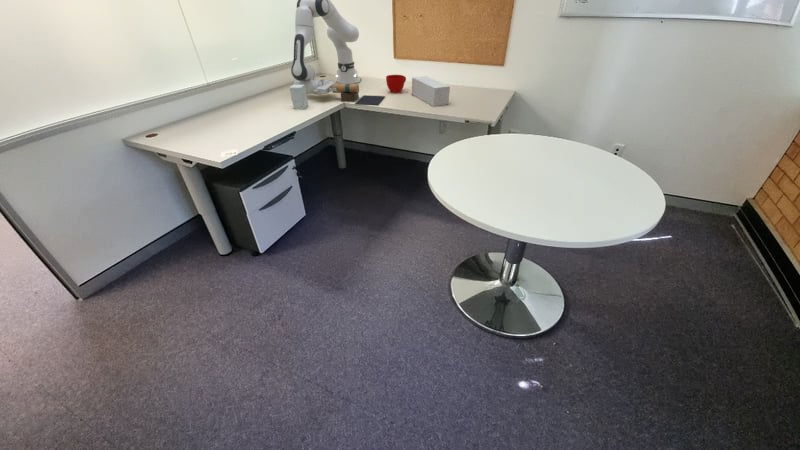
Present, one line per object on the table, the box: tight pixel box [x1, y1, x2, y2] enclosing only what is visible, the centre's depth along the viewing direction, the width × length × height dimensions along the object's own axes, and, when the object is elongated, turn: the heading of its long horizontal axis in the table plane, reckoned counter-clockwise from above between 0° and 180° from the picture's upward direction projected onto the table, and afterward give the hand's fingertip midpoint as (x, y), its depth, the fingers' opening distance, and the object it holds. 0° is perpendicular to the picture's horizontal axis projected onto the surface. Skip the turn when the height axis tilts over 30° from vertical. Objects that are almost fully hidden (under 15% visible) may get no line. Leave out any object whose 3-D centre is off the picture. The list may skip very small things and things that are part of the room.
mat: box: [354, 95, 386, 106], centre depth 215 cm, size 20×15×1 cm
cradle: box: [340, 92, 360, 103], centre depth 216 cm, size 10×9×5 cm
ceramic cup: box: [385, 74, 407, 94], centre depth 231 cm, size 13×17×10 cm
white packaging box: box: [289, 84, 309, 110], centre depth 200 cm, size 7×7×13 cm
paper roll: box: [332, 83, 360, 94], centre depth 214 cm, size 17×6×6 cm, turn 80°
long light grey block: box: [411, 75, 451, 107], centre depth 214 cm, size 32×11×11 cm, turn 24°
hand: (338, 88), depth 215 cm, fingers closed on paper roll, 5 cm apart
